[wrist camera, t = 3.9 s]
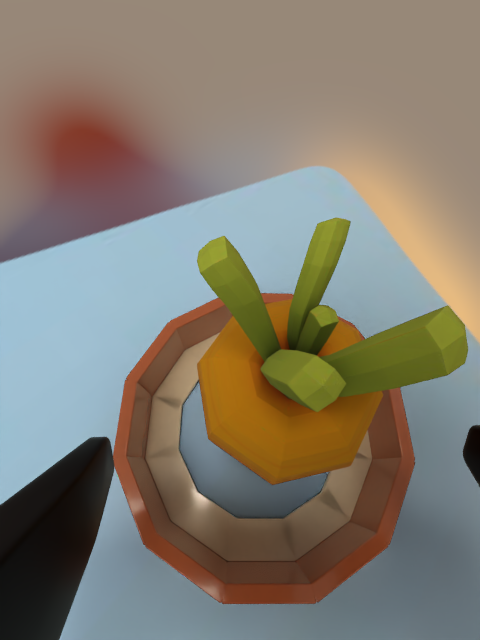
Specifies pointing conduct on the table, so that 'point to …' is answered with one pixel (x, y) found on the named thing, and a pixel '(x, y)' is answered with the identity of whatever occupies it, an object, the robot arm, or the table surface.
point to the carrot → (306, 365)
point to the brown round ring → (250, 533)
